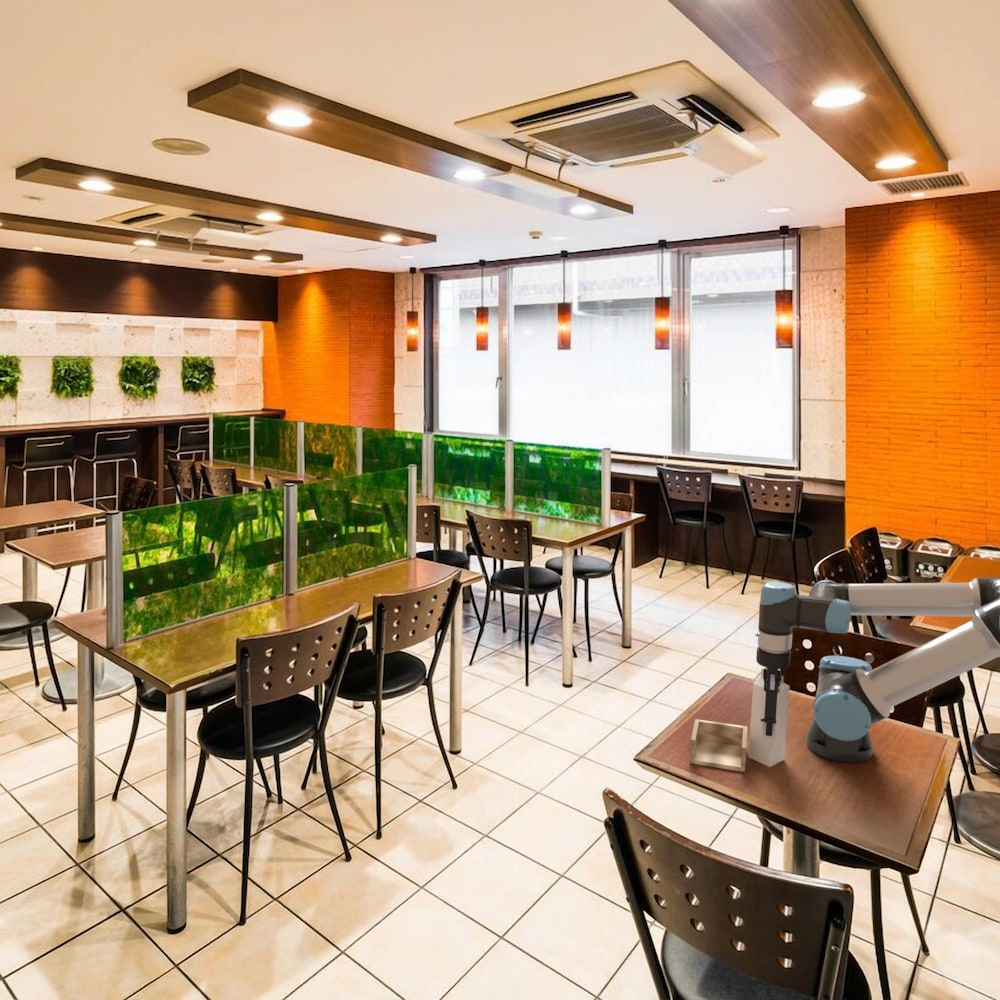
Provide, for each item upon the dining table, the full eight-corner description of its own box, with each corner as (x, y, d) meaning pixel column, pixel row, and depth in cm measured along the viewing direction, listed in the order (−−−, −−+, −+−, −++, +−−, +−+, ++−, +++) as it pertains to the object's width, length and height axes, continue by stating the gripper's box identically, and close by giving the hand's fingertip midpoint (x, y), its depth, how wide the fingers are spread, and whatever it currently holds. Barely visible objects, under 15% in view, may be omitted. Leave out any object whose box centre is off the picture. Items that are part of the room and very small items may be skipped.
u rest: (746, 749, 191) (747, 726, 190) (744, 772, 181) (746, 748, 180) (694, 741, 195) (695, 719, 194) (689, 763, 185) (691, 739, 184)
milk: (769, 767, 183) (775, 679, 179) (747, 757, 187) (753, 671, 184) (784, 759, 186) (791, 673, 182) (762, 749, 191) (768, 665, 187)
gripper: (757, 631, 193) (752, 717, 197) (756, 661, 173) (750, 756, 177) (789, 635, 191) (783, 721, 195) (792, 666, 171) (785, 761, 175)
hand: (767, 738), depth 186 cm, fingers closed on milk, 8 cm apart
